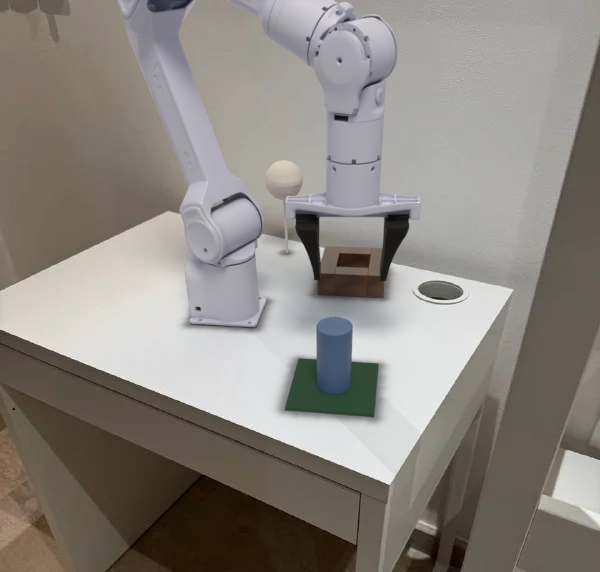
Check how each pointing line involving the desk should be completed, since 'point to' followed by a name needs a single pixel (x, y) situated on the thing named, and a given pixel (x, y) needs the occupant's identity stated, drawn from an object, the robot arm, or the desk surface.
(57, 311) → the desk surface
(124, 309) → the desk surface
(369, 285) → the holder
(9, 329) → the desk surface
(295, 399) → the mat
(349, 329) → the peg
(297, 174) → the lollipop
